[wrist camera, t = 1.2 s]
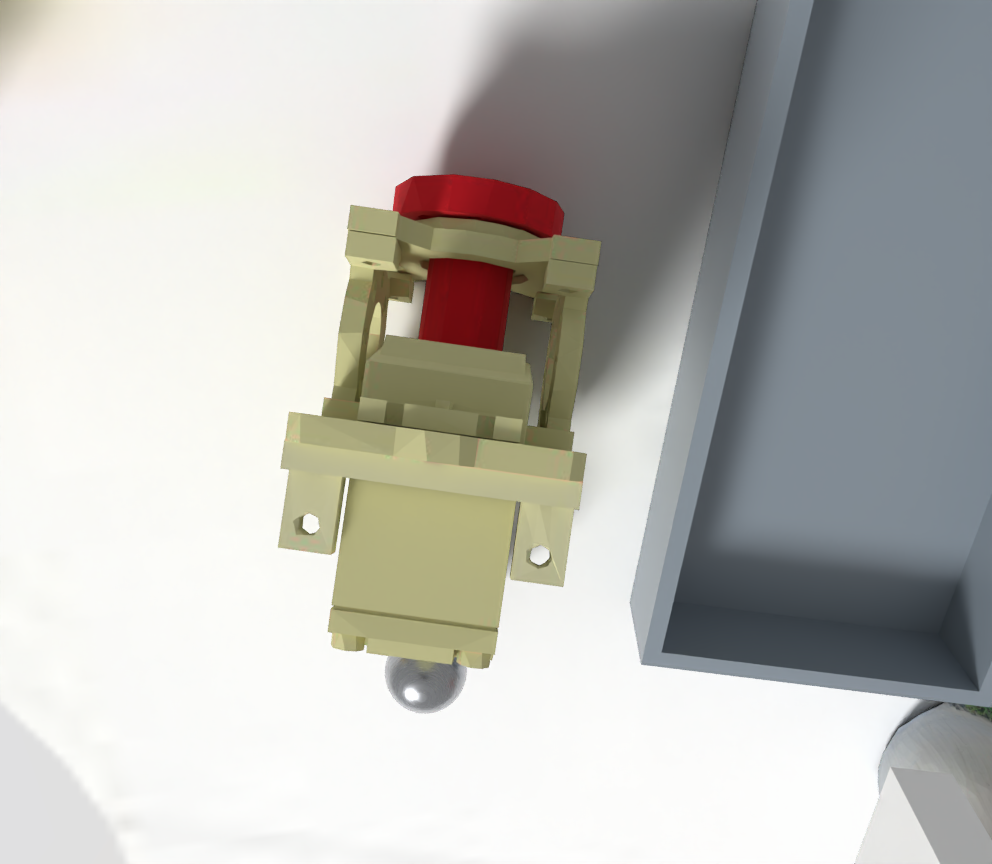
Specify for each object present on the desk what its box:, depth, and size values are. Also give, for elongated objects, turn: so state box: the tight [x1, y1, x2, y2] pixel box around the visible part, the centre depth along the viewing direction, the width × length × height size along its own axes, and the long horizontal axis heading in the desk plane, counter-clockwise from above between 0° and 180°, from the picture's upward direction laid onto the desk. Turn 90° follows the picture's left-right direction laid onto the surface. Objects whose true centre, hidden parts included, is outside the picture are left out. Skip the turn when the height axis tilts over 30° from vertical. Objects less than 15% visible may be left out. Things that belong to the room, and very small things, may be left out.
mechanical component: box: [278, 174, 601, 669], centre depth 30 cm, size 8×17×20 cm, turn 172°
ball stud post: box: [385, 656, 467, 713], centre depth 37 cm, size 3×3×7 cm
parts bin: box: [630, 0, 992, 708], centre depth 33 cm, size 29×14×4 cm, turn 173°
